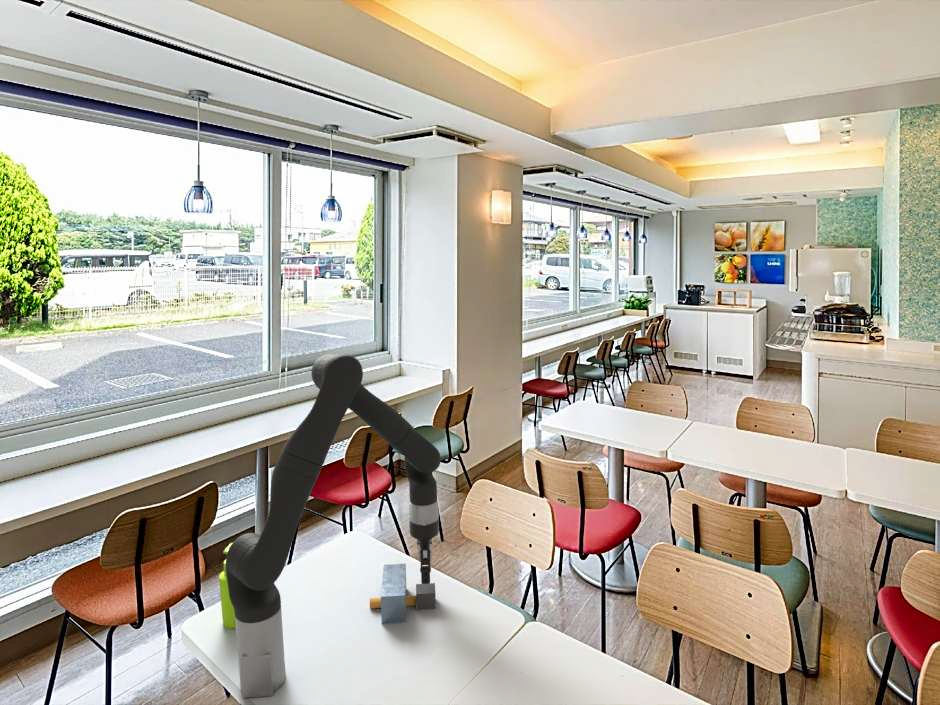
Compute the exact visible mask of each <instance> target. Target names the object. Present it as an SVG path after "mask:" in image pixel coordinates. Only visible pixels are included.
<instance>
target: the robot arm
mask: <svg viewBox="0 0 940 705" xmlns="http://www.w3.org/2000/svg"><path fill="white" fill-rule="evenodd" d="M363 377H364V371H363V366H362V364H361V361H360V360H359V359H358V358H356V357H354V356H352V355H349V354H340V353H327V354H324V355H321V356H319V357H318V358H317V359H316V360H315V361H314V363H313V365H312V369H311V378H312V381H313V383H314V385H315V387H317V389H319V392H317V393H318V394H317V396H316V399H315V401H314V403H313V405H312V408H311V409H310V411H309V413H308V414H307V415H306V416H305V418H304V419H303V420H302V422H301V423H299V425H298V426H297V427H296V429H295V430H294V431H293V432H292V433H291V434H290V436H289V437H288V439H287V440H286V442H285V443H284V446H283V448H282V450H281V451H280V454H279V457H278V459H277V461H276V462H275V463H276V464H275V465H274V468H273V469H272V470H273V471H272V473H271V480H270V481H271V482H270V493H269V494H270V495H269V497H270V498H269V512H268V516H267V519H266V522H265V525H264V527H263V530H262V531H261V534H259V533H256V532H248V533H244V534H242V535H240V536H238V537H237V538H235V540H234V541H233V543H232V542H231V543H232V545H231V546H230V548H229V550H228V553H227V555H226V557H225V560H226V575H227V583H228V590H229V597H230V601H231V603H232V605H233V608H234V613H235V623H236V628H235V635H236V637H235V638H236V647H237V648H236V649H237V658H238V670H239V673H238V674H239V682H240V685H239V686H240V690H241V692H242V698H243V699H244V698H259V697H272V696H273V695H274V694H275V692H276V691H277V690H279V688H280V687H281V686H282V685H283V684H284V683H285V681H286V676H287V675H286V674H287V673H286V661H285V660H286V658H285V647H284V645H285V644H284V633H283V632H284V631H283V630H284V628H283V615H282V601H281V600H282V599H281V593H280V591H279V589H278V587H277V586H276V584H275V582H277V580H278V579H279V578H280V576H281V574H282V572H283V571H284V568H285V566H286V563H287V560H288V558H289V554H290V551H291V548H292V544H293V542H294V537H295V535H296V532H297V529H298V526H299V523H300V520H301V517H302V515H303V513H304V510H305V508H306V506H307V503H308V501H309V498H310V495H311V493H312V490H313V488H314V486H315V484H316V482H317V480H318V478H319V475H320V473H321V471H322V469H323V466H324V464H325V461H326V458H327V456H328V453H329V451H330V449H331V446H332V444H333V442H334V439H335V437H336V435H337V433H338V430H339V427H340V424H341V423H342V421H343V419H344V417H345V415H346V413H347V411H348V409H349V410H350V411H351V412H353V413H354V414H355V415H356V416H358V417H359V418H360V419H361V420H362V422H365V424H366V425H368V426H369V427H370V428H371V429H372V430H373V431H374V432H375V433H376V434H377V435H378V436H379V437H381V439H382V440H384V441H385V442H386V443H387V444H388V445H389V446H390V447H391V448H393V449H395V450H396V451H397V452H399V453H400V454H401V455H402V456H403V457H404V458H403V460H404V467H405V471H406V476H407V480H408V482H409V484H408V485H409V493H408V494H409V506H408V517H409V518H408V520H409V521H408V522H409V525H408V526H409V535H410V536H411V538H413V539H416V549H417V553H418V556H417V557H418V561H419V563H420V567H419V572H420V574H421V575H420V577H421V578H420V580H421V582H420V584H429V583H431V572H432V567H431V561H432V560H433V555H432V554H433V553H432V551H433V538H435V537H436V536H438V534H439V531H440V526H439V525H440V523H439V521H440V520H439V519H440V518H439V514H440V513H439V503H438V484H437V480H436V478H435V477H434V476H433V474H432V473H434V472H435V471H437V469H439V467H440V465H441V462H442V457H441V454H440V451H439V449H438V448H437V447H436V446H434V444H433V443H431V442H430V441H429V440H428V439H426V438H425V437H424V436H422V434H420V433H419V432H418V431H417V430H416V429H415V427H413V426H412V425H411V424H410V422H409V421H408V420H406V419H405V418H404V417H403V416H402V414H400V412H398V411H397V410H396V409H395V408H393V407H392V406H391V405H390V404H389V403H386V402H385V401H383V400H381V399H380V398H379V397H377V396H376V395H374V394H373V392H371V391H369V390H368V389H367V388H366V387H365V386H364V385H363V384H362V382H363Z"/></svg>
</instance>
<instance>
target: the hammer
mask: <svg viewBox="0 0 940 705" xmlns="http://www.w3.org/2000/svg"><path fill="white" fill-rule="evenodd" d="M436 600H437V599H436V584H435V583H434V582H433V583H431V582H430V583H429V584H422V583H416V584H415V595H406V607H412V606H415V607H416V608H415V609H416V611H419V610H422V609H423V610H436V609H435V608H437V607H436V606H437V604H436ZM369 608H370V609H378V608H380V609H381V597H370V598H369Z"/></svg>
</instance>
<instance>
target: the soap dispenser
mask: <svg viewBox="0 0 940 705" xmlns="http://www.w3.org/2000/svg"><path fill="white" fill-rule="evenodd" d="M233 542H234V541H233ZM233 542H230V543H229V545H228V546H227V547H225V549H224V550H223V552H222V554H225V555H226V556H227V553H228V550H229V548H230V546H231V545H232V543H233ZM218 580H219V594H220V605H221V616H222V617H221V618H222V626H223V625H224V626H223V627H224V628H225V627H226V629H232V628H234V629H236V623H235V613H234V608H233V605H232V603H231V601H230V597H229V590H228V583H227V575H226V559H224V560H223V571H222V572H220V574H219V575H218ZM232 630H233V629H232Z"/></svg>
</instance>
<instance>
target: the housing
mask: <svg viewBox="0 0 940 705" xmlns="http://www.w3.org/2000/svg"><path fill="white" fill-rule="evenodd" d="M382 568H383V569H382V581H381V591H380V598H381V608H380V610H381V612H380V616H381V624H382V625H387V624H400V623H407V608H406V607H407V606H406V596H407V563H391V564H383V567H382Z"/></svg>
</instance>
